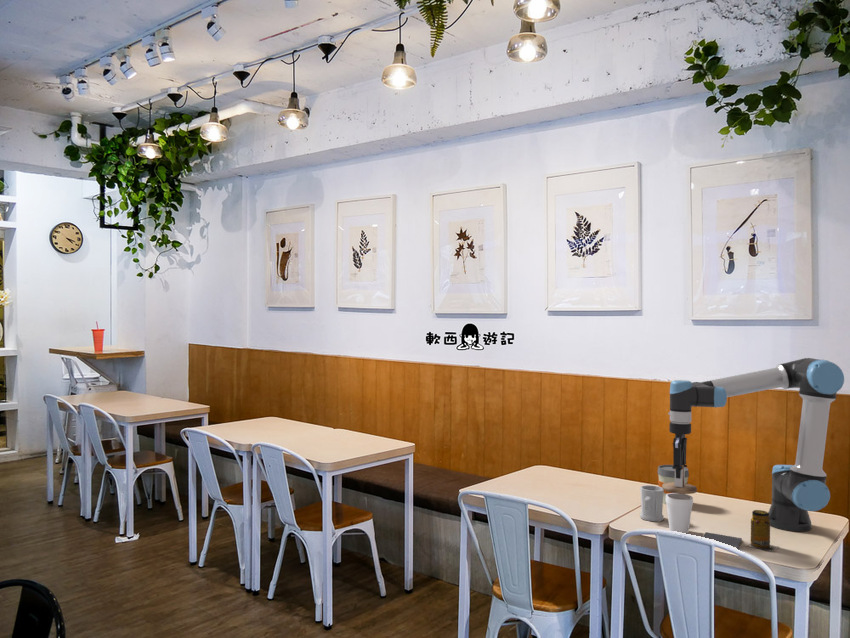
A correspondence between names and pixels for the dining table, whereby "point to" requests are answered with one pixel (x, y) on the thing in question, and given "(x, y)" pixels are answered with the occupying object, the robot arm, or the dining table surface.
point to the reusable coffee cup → (668, 477)
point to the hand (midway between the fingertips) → (679, 485)
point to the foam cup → (679, 511)
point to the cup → (651, 503)
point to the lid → (680, 490)
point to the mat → (724, 539)
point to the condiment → (761, 531)
